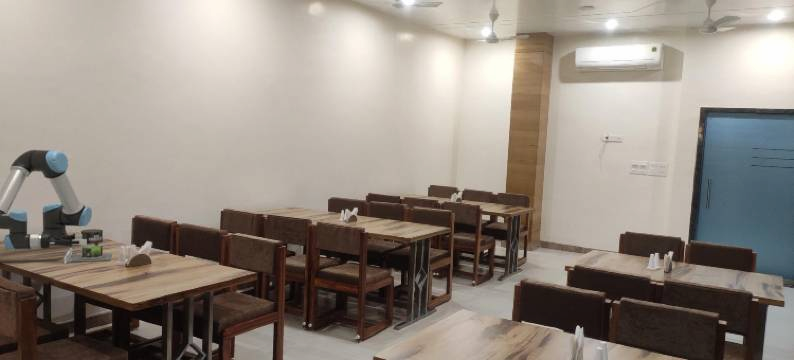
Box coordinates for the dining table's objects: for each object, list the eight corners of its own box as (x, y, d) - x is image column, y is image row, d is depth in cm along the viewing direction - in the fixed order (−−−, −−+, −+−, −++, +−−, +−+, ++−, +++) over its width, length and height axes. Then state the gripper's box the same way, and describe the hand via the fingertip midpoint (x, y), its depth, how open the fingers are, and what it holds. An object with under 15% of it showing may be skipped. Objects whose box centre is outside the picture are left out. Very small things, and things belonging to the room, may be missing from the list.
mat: (74, 255, 312) (74, 254, 312) (111, 254, 319) (111, 253, 319) (70, 262, 295) (70, 261, 295) (109, 260, 302) (109, 259, 302)
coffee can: (106, 257, 308) (106, 230, 307) (86, 259, 300) (86, 232, 299) (97, 254, 314) (97, 228, 313) (77, 257, 306) (77, 230, 305)
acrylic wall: (70, 254, 314) (70, 248, 313) (72, 254, 314) (72, 248, 314) (64, 264, 292) (64, 257, 291) (66, 264, 292) (66, 257, 292)
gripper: (44, 244, 309) (89, 242, 317) (36, 253, 286) (85, 251, 294) (44, 230, 308) (89, 228, 317) (36, 237, 285) (85, 236, 294)
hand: (87, 239), depth 305 cm, fingers open, 13 cm apart
